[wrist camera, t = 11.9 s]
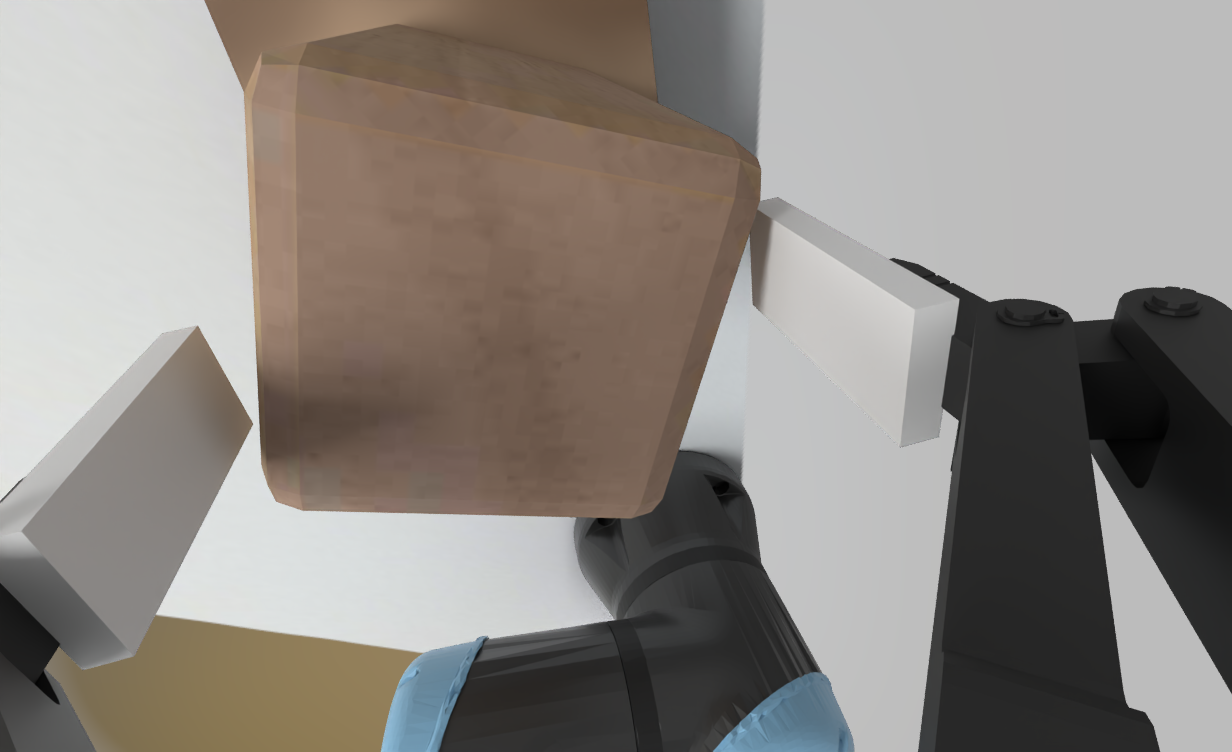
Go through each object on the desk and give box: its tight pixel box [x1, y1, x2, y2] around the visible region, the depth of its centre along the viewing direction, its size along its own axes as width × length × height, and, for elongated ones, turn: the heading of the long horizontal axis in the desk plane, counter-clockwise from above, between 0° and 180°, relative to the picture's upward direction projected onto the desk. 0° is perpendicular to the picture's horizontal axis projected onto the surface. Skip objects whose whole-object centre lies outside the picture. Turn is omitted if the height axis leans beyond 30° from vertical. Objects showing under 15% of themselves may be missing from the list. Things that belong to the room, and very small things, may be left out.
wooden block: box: [244, 24, 761, 518], centre depth 22 cm, size 10×10×20 cm
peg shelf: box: [205, 0, 658, 103], centre depth 32 cm, size 18×18×6 cm
